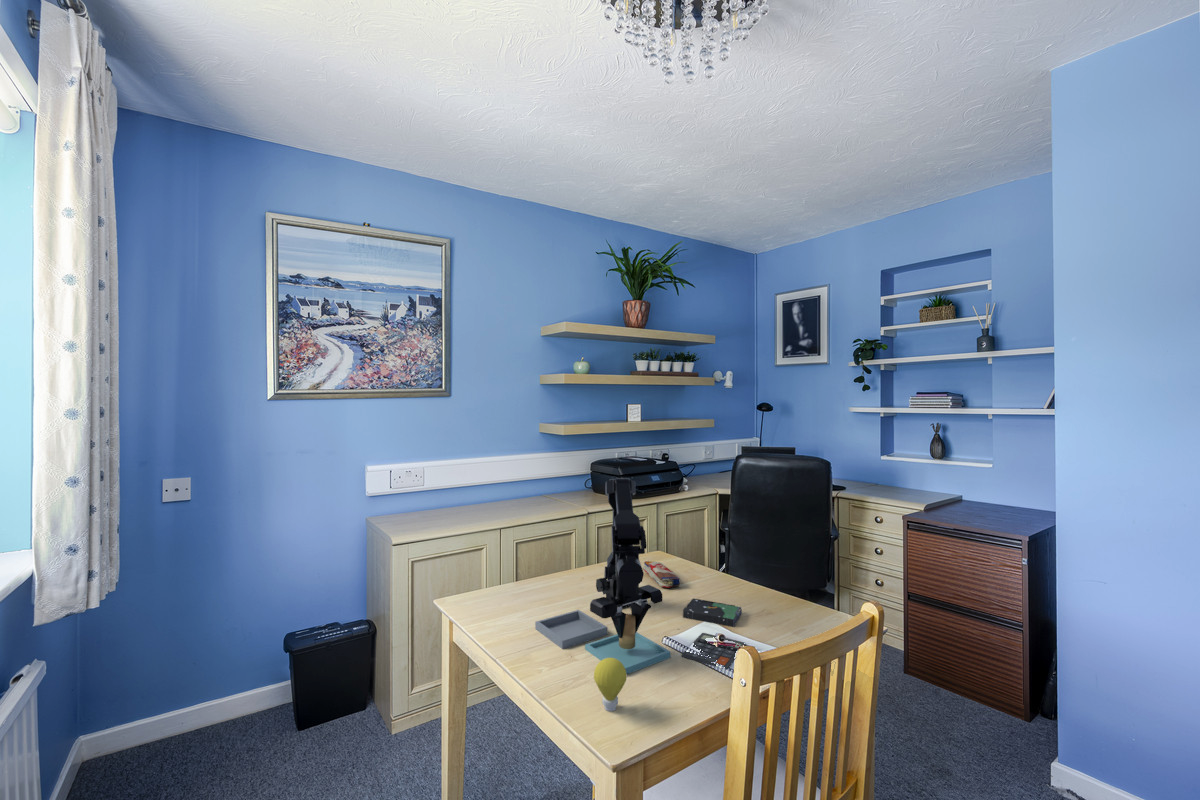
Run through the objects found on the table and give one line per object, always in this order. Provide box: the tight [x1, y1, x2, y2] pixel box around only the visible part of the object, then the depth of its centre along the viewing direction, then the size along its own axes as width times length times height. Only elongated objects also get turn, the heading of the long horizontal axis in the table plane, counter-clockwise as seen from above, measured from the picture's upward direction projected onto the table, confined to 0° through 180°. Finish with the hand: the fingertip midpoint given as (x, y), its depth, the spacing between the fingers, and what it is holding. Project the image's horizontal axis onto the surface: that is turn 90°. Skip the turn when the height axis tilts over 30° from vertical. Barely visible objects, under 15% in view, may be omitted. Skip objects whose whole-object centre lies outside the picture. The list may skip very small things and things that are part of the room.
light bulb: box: [593, 658, 627, 712], centre depth 111 cm, size 7×7×10 cm
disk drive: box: [682, 598, 743, 628], centre depth 157 cm, size 10×3×15 cm
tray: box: [584, 632, 672, 675], centre depth 134 cm, size 15×15×2 cm
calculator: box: [680, 632, 746, 670], centre depth 136 cm, size 12×1×15 cm
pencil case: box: [642, 560, 681, 589], centre depth 186 cm, size 11×20×5 cm, turn 2°
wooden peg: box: [619, 613, 635, 649], centre depth 134 cm, size 4×4×7 cm
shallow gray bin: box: [535, 609, 608, 650], centre depth 146 cm, size 14×14×2 cm
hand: (627, 635), depth 134 cm, fingers closed on wooden peg, 4 cm apart
